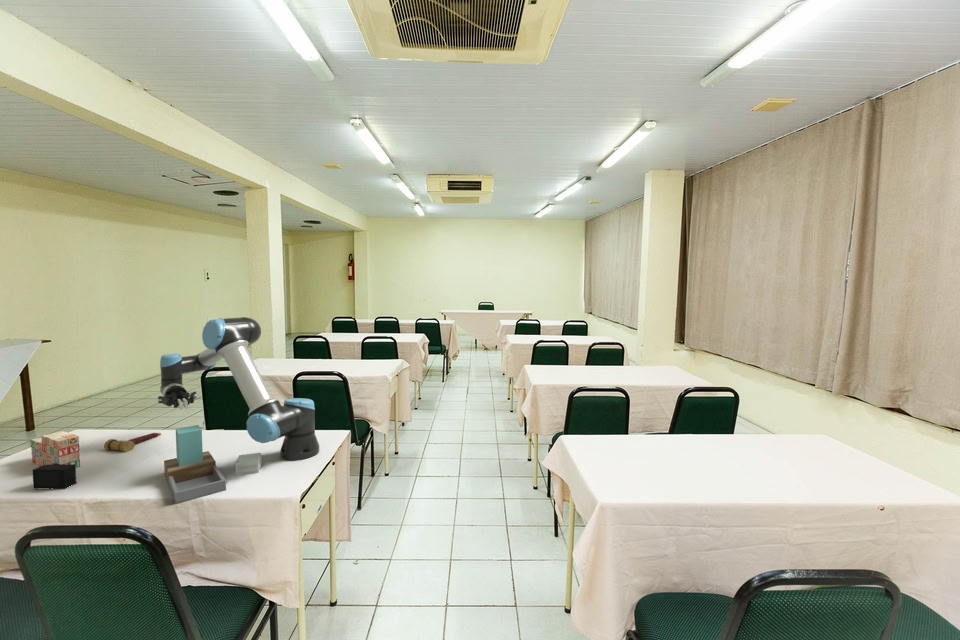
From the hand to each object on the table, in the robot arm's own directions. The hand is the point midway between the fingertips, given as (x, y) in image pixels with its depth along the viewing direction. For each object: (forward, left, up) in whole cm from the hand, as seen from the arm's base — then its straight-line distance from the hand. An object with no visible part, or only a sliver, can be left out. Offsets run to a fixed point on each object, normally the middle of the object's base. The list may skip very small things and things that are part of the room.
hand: (183, 405), depth 157 cm
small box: (-26, +1, -24) cm, 35 cm away
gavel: (+39, -22, -25) cm, 51 cm away
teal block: (-6, +6, -19) cm, 21 cm away
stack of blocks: (+51, +1, -24) cm, 56 cm away
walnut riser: (-6, +6, -24) cm, 26 cm away
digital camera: (+33, +17, -24) cm, 44 cm away
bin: (-17, +16, -24) cm, 34 cm away
